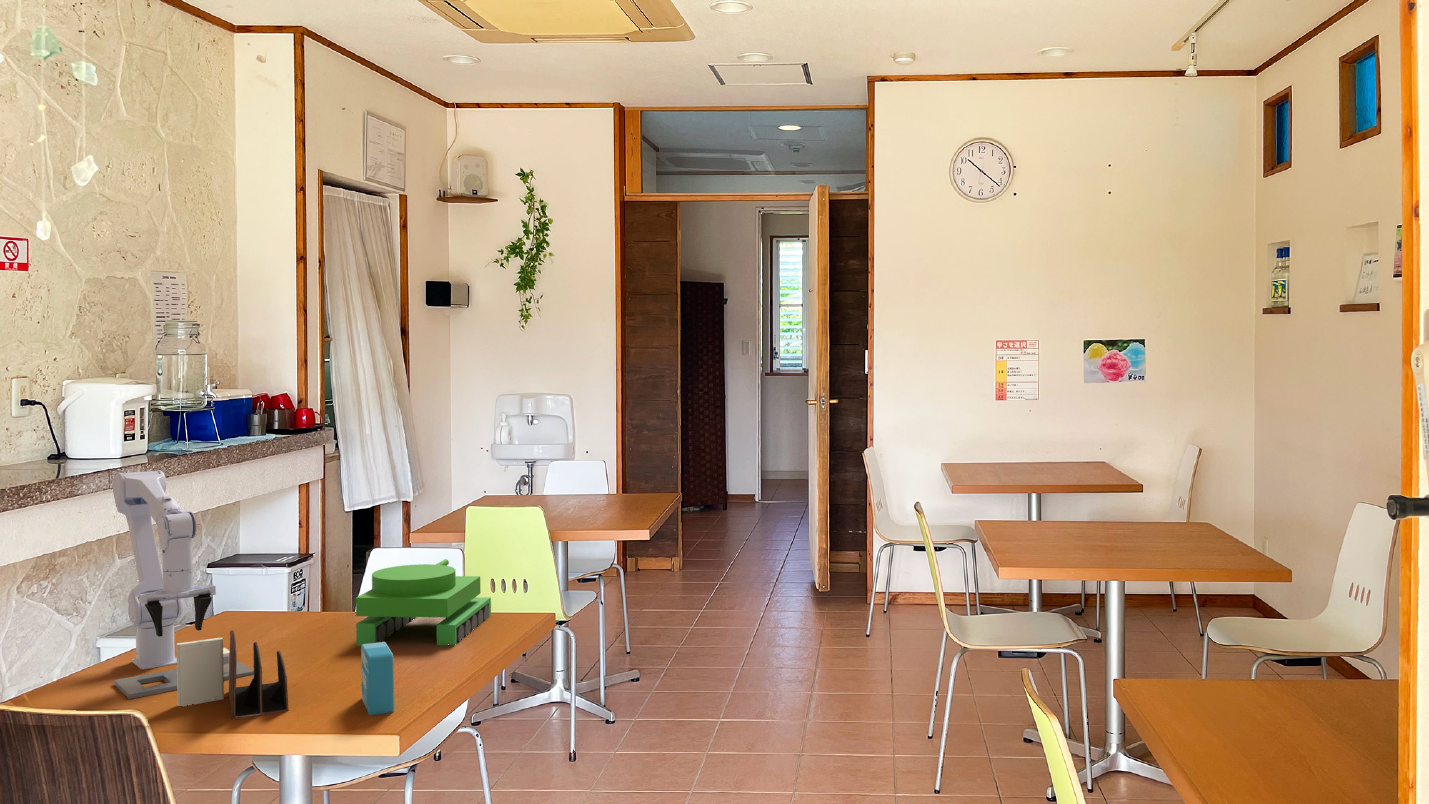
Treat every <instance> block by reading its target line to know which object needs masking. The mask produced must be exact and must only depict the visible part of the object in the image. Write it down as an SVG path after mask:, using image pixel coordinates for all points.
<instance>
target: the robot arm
mask: <svg viewBox="0 0 1429 804" xmlns="http://www.w3.org/2000/svg"><path fill="white" fill-rule="evenodd" d="M112 492H113V498H114V503H115V504H114V505H115V507H116V509H117V511H116V512H118V513H120V514H122V515H123V516H125V518H126V522H127V525H128V531H129V535H130V541H131V546H132V551H133V557H134V561H135V562H134V563H135V567H136V573H137V578H138V584H137V585H136V586H134V587H133V588H132V590H131V591H130V592H129V594H128V596H127V601H128V603H127V605H128V607H127V608H128V609H127V610H128V618H129V621H130V622H131V624H132V625H133V626H134V627H137V630H136V633H135V651H136V652H135V654H136V657H135V658H132V659H131V662H132V663H133V664H134V665H135V666H136V667H138V668H139V669H140V670H148V669H149V670H150V669H154V668H155V669H156V668H160V667H167V666H172V665H177V657H176V655H175V652H176V651H175V648H176V647H175V624H176V623H178V622H177V621H178V620H179V619H180V617H181V616H182V614H183V609H184V608H183V600H182V599H189V598H193V603H194V612H195V613H194V629H195V630H196V631H202V627H203V623H204V619H205V615H206V613H207V611H208V609H209V607H210V605H211V604H212V603H211V602H212V600H213V599H212V598H213V596H216V593H217V592H216V590H217V589H216V585H214V584H208V585H207V584H206V585H205V584H204V585H194V576H193V575H194V573H193V572H194V570H193V569H194V567H193V564H194V563H193V539H194V538H195V537H196V535H197V520H196V517H195V514H194V513H193V512H192V511H184V510H183V509H182V507H181V506H180V505H179V503H178V502H177V500H176V499H175V497H172V496H170V495H167V494H166V492H167V478H166V475H165V473H164V472H163V471H162V470H161V469H160V470H159V469H156V470H151V471H150V470H149V471H135V472H117V473H116V475H115V476H114V477H113V481H112ZM152 520H153V521H154V522H155V524H156V526H157V527H156V529H157V535H158V540H159V547H160V548H159V549H161V551H162V555H161V556H162V567H161V562H160V556H159V552H158V547H157V546H158V545H157V542H156V541H157V540H156V536H155V530H154V526H153V521H152Z"/></svg>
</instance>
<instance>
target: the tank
mask: <svg viewBox="0 0 1429 804" xmlns="http://www.w3.org/2000/svg"><path fill="white" fill-rule="evenodd" d="M449 564H450V561H449V559H447V558H445V559H443V560H441V561H439V562H438V563H436V564H431V563H430V564H427V563H426V564H424V563H423V564H407V565H406V564H405V565H404V564H403V565H397V566H396V565H395V566H390V567H384V568H381V569H378V570H375V571H374V572H372V573H371V589H369V590H368V591H366V592H364V593H362V594H360V595H359V596H356V597H355V616H356V617H365V618H363V619H361V620H360V621H358V622H357V623H356V626H355V628H356V629H355V630H356V631H355V632H356V635H355V636H356V647H361V646H362V644H370V643H379V642H381V641H382V642H384V641H385V638H386V637H385V636H389V637H390V636H392V635H393V633H394V632H398V631H399V630H400V629H401V628H402V626H401V625H405V624H407V623H408V624H409V623H410V622H412V621H411V620H413V619H414V620H415V619H416V617H417V618H444V619H443V620H441V621H439V623H437V624H436V646H437V645H448V644H449V645H455V644H458V642H457V641H460V642H461V641H462V640H461V639H463V638H465V637H464V636H466V635H467V634H469V633H470V634H471V632H472V631H471V630H473V629H475V628H476V627H477V628H478V626H477V625H479V626H481V625H482V624H483V623H484V621H487V620H488V619H489V618H490V617H491V616H492V598H491V596H490V597H488V596H486V597H482V596H481V597H480V594H481V576H477V575H476V576H472V575H471V576H469V575H467V576H465V575H463V576H461V575H460V576H459V575H456V568H455V567H453V566H449ZM489 616H490V617H489ZM409 620H410V621H409ZM414 620H413V621H414ZM482 622H483V623H482ZM481 623H482V624H481ZM408 624H407V625H408ZM405 626H406V625H405ZM399 628H400V629H399ZM477 628H476V629H477ZM398 629H399V630H398ZM476 629H475V630H476ZM397 630H398V631H397ZM473 631H474V630H473ZM391 634H392V635H391ZM470 634H469V635H470ZM467 636H468V635H467ZM467 636H466V637H467ZM463 640H464V639H463ZM455 646H456V645H455Z"/></svg>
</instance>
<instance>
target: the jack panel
mask: <svg viewBox="0 0 1429 804" xmlns="http://www.w3.org/2000/svg"><path fill="white" fill-rule="evenodd" d="M236 666H237V667H236V668H237V669H236V679H239V678H242V677H247V676H254V669H251V668H250V667H249V666H247V665H245V664H244V663H242V662H241V661H239V660H237V665H236ZM113 681H114V682H113V683H114V684H113V686H115V687H116V688H117V689H118V690H119V691H120V692H121V693H122V694H123V695H124V696H125V697H126V696H127V697H126V698H128V700H133V699H138V697H139V698H143V697H142V696H144V697H149V696H155V695H157V694H158V695H159V694H162V693H169V692H174V691H177V668H176V669H170V670H169V669H168V670H164V671H160V672H159V671H157V672H153V673H146V674H140V675H136V676H130V677H124V678H118V679H114V680H113ZM159 681H164V682H165V683H160V684H155V685H150V686H144V684H148V683H155V682H159ZM224 681H229V672H225V673H224ZM168 691H169V692H168Z"/></svg>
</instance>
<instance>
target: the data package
mask: <svg viewBox="0 0 1429 804" xmlns="http://www.w3.org/2000/svg"><path fill="white" fill-rule="evenodd" d="M360 653H361V654H360V656H361V657H360V660H361V663H360V665H361V667H360V668H361V670H360V671H361V700H362V702H363V704H364V706H365V708H366V710H367V712H368V715H369V716H377V715H382V714H388V713H389V714H390V713H394V712H395V665H394V664H395V663H394V661H395V660H394V654H393V652H392V651H391V649H390V646H389V645H388V644H387V642H385V641H382V642H376V643H370V644H362V646H360Z"/></svg>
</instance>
